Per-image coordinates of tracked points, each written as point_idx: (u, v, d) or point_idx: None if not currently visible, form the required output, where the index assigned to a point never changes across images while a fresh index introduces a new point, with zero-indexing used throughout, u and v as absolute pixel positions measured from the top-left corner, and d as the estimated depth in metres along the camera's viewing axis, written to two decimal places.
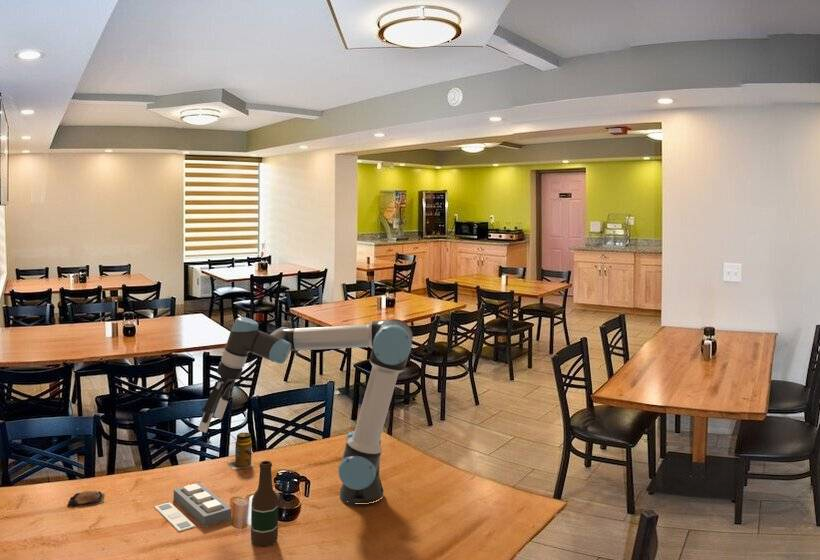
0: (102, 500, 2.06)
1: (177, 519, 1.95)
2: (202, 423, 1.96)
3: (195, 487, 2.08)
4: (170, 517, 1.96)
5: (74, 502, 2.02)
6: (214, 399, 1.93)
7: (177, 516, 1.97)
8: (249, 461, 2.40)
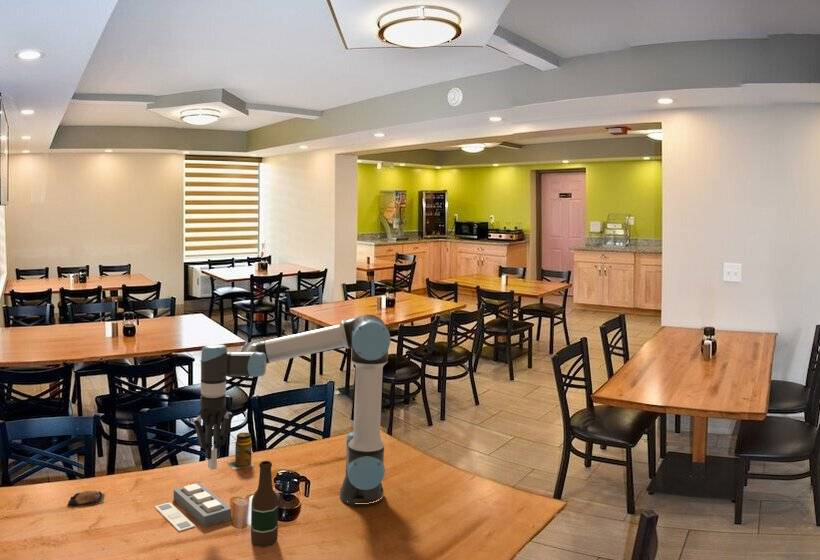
0: (102, 500, 2.06)
1: (177, 519, 1.95)
2: (209, 460, 1.96)
3: (195, 487, 2.08)
4: (170, 517, 1.96)
5: (74, 502, 2.02)
6: (199, 435, 1.92)
7: (177, 516, 1.97)
8: (249, 461, 2.40)
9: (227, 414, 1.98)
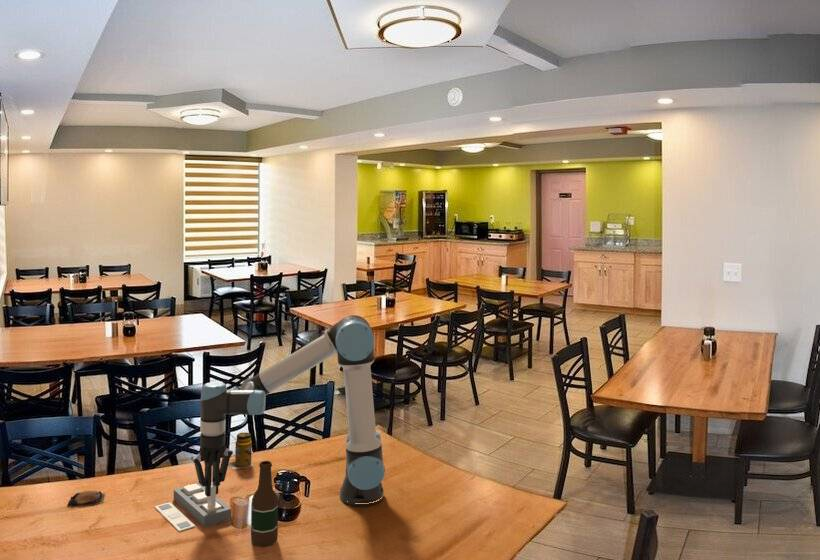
0: (102, 500, 2.06)
1: (177, 519, 1.95)
2: (208, 497, 1.97)
3: (195, 487, 2.08)
4: (170, 517, 1.96)
5: (74, 502, 2.02)
6: (198, 473, 1.93)
7: (177, 516, 1.97)
8: (249, 461, 2.40)
9: (226, 451, 1.99)
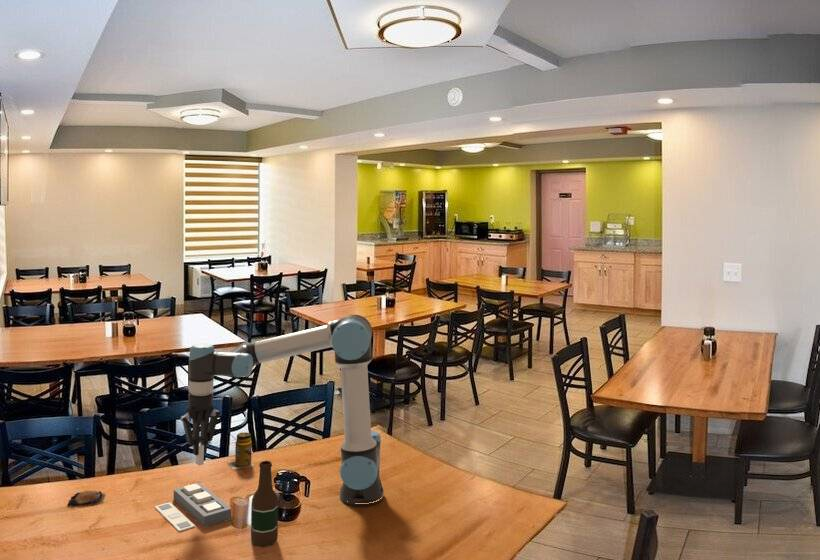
0: (102, 500, 2.06)
1: (177, 519, 1.95)
2: (196, 456, 2.02)
3: (195, 487, 2.08)
4: (170, 517, 1.96)
5: (74, 502, 2.02)
6: (187, 432, 1.98)
7: (177, 516, 1.97)
8: (249, 461, 2.40)
9: (214, 412, 2.04)
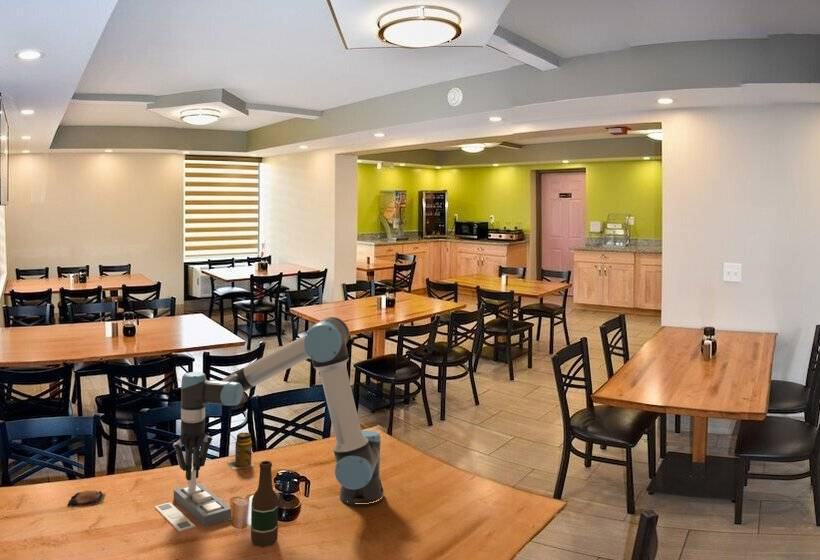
0: (102, 500, 2.06)
1: (177, 519, 1.95)
2: (189, 481, 2.08)
3: (195, 489, 2.08)
4: (170, 517, 1.96)
5: (74, 501, 2.02)
6: (179, 458, 2.04)
7: (177, 516, 1.97)
8: (249, 461, 2.40)
9: (206, 438, 2.10)
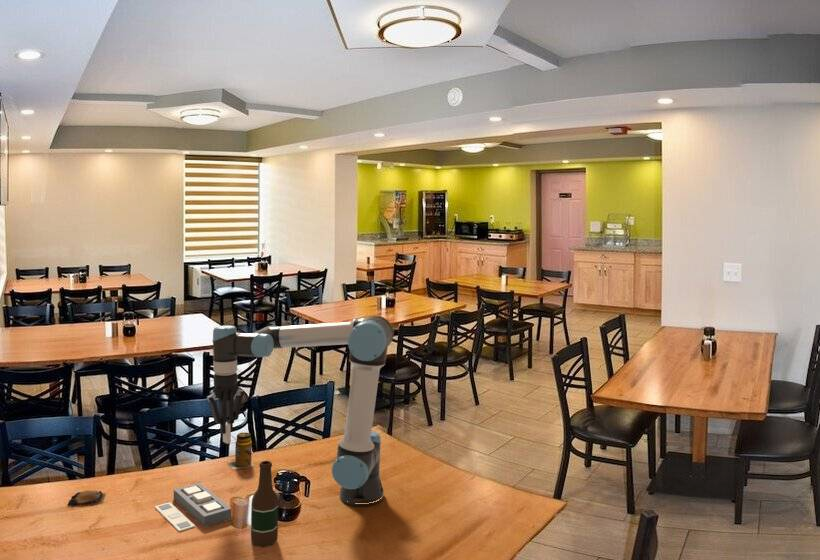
0: (102, 500, 2.06)
1: (177, 519, 1.95)
2: (223, 435, 2.09)
3: (195, 490, 2.08)
4: (170, 517, 1.96)
5: (74, 501, 2.02)
6: (214, 411, 2.04)
7: (177, 516, 1.97)
8: (249, 461, 2.40)
9: (239, 391, 2.10)
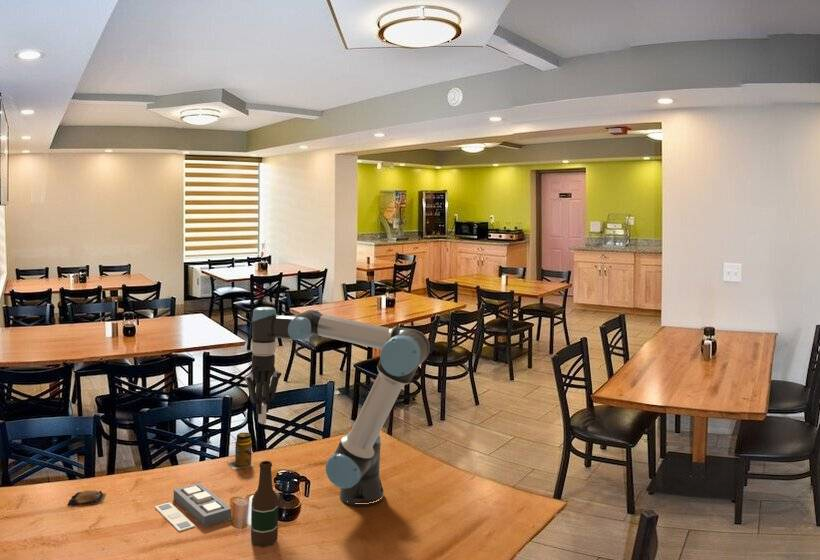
0: (102, 500, 2.06)
1: (177, 519, 1.95)
2: (259, 415, 2.10)
3: (195, 490, 2.08)
4: (170, 517, 1.96)
5: (74, 501, 2.02)
6: (251, 391, 2.06)
7: (177, 516, 1.97)
8: (249, 461, 2.40)
9: (275, 373, 2.12)
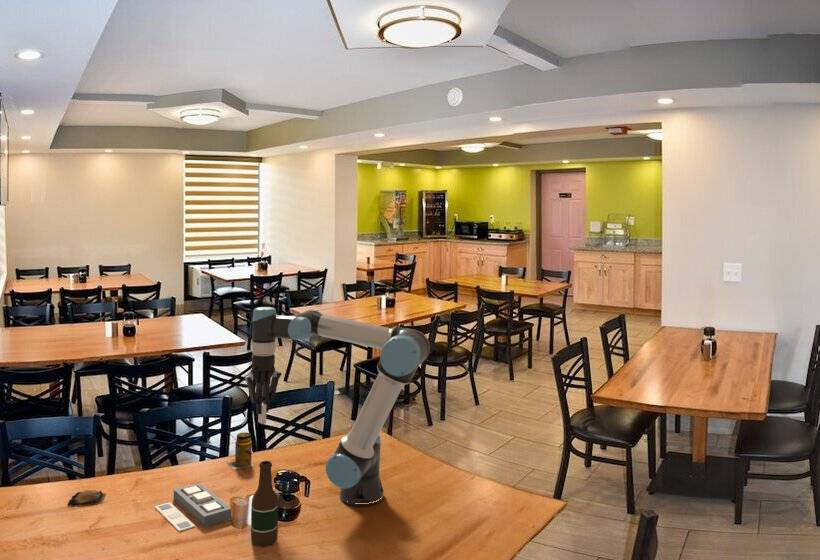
0: (102, 500, 2.06)
1: (177, 519, 1.95)
2: (259, 415, 2.10)
3: (195, 490, 2.08)
4: (170, 517, 1.96)
5: (74, 501, 2.02)
6: (251, 391, 2.06)
7: (177, 516, 1.97)
8: (249, 461, 2.40)
9: (275, 373, 2.12)
